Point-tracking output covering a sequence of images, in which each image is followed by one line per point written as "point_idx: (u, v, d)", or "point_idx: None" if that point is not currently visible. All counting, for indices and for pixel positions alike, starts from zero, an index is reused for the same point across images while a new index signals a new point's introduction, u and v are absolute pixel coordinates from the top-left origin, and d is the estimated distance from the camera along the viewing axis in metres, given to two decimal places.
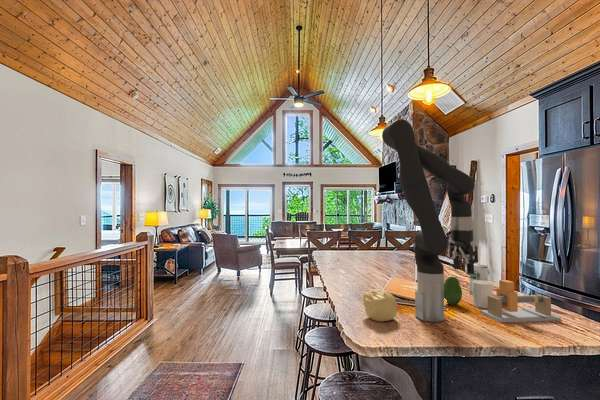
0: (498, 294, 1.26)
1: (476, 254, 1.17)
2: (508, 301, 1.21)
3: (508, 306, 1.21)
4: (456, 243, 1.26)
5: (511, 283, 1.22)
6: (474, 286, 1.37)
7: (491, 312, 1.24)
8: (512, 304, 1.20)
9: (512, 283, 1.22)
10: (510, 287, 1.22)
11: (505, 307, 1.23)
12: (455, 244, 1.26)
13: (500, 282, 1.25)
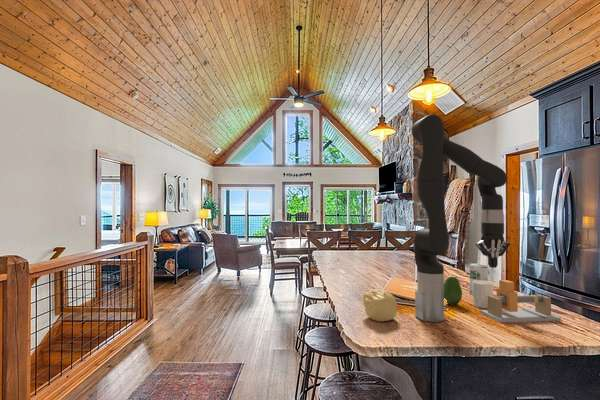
0: (498, 294, 1.26)
1: None
2: (508, 301, 1.21)
3: (508, 306, 1.21)
4: (489, 237, 1.23)
5: (511, 283, 1.22)
6: (474, 286, 1.37)
7: (491, 312, 1.24)
8: (512, 304, 1.20)
9: (512, 283, 1.22)
10: (510, 287, 1.22)
11: (505, 307, 1.23)
12: (487, 238, 1.22)
13: (500, 282, 1.25)
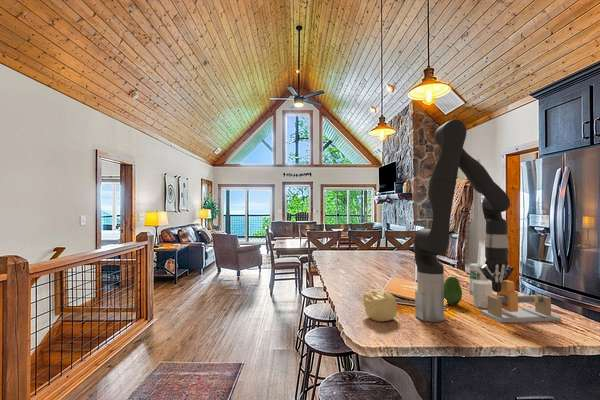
0: (498, 294, 1.26)
1: None
2: (508, 301, 1.21)
3: (508, 306, 1.21)
4: (493, 261, 1.23)
5: (512, 283, 1.22)
6: (474, 286, 1.37)
7: (491, 312, 1.24)
8: (512, 304, 1.20)
9: (512, 283, 1.22)
10: (510, 287, 1.22)
11: (505, 307, 1.23)
12: (490, 262, 1.22)
13: None
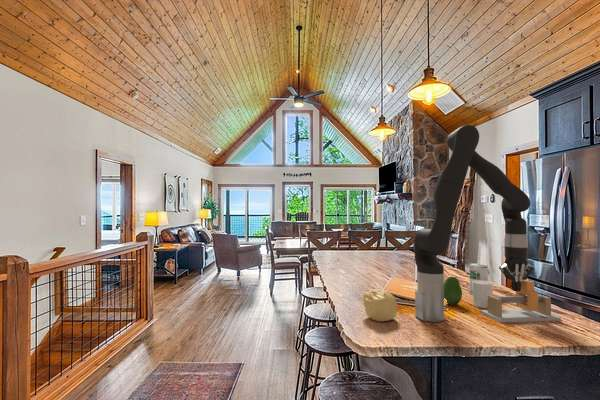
0: (518, 294, 1.27)
1: None
2: (528, 300, 1.22)
3: (528, 305, 1.22)
4: (513, 261, 1.23)
5: (531, 283, 1.23)
6: (474, 286, 1.37)
7: (491, 312, 1.24)
8: (532, 303, 1.21)
9: (532, 283, 1.23)
10: (530, 287, 1.23)
11: (525, 306, 1.23)
12: (510, 262, 1.23)
13: None
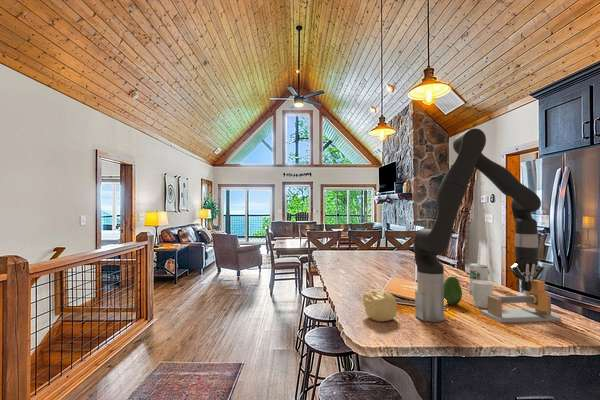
0: (528, 293, 1.28)
1: None
2: (539, 300, 1.22)
3: (539, 305, 1.22)
4: (523, 261, 1.24)
5: (542, 283, 1.23)
6: (474, 286, 1.37)
7: (491, 312, 1.24)
8: (543, 303, 1.22)
9: (543, 282, 1.23)
10: (541, 286, 1.23)
11: (536, 306, 1.24)
12: (521, 262, 1.24)
13: None
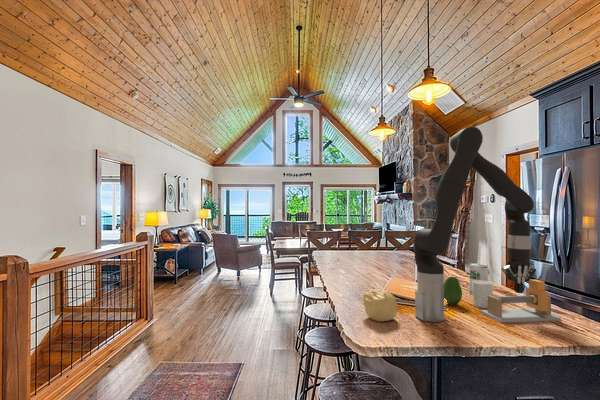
0: (528, 293, 1.28)
1: None
2: (539, 300, 1.22)
3: (539, 305, 1.22)
4: (516, 262, 1.23)
5: (542, 283, 1.23)
6: (474, 286, 1.37)
7: (491, 312, 1.24)
8: (543, 303, 1.22)
9: (543, 282, 1.23)
10: (541, 286, 1.23)
11: (535, 306, 1.24)
12: (513, 263, 1.23)
13: (530, 281, 1.26)
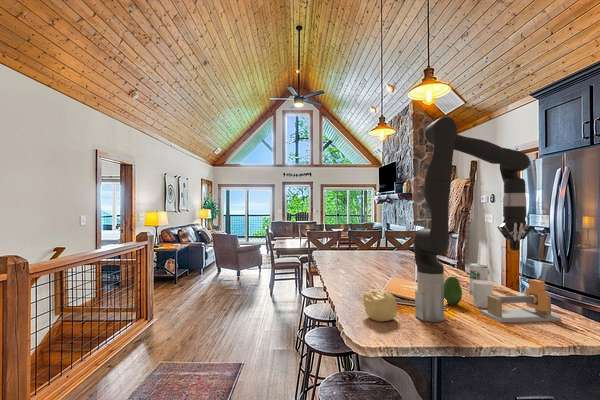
0: (528, 293, 1.28)
1: None
2: (539, 300, 1.22)
3: (539, 305, 1.22)
4: (511, 220, 1.24)
5: (542, 283, 1.23)
6: (474, 286, 1.37)
7: (491, 312, 1.24)
8: (543, 303, 1.22)
9: (543, 282, 1.23)
10: (541, 286, 1.23)
11: (535, 306, 1.24)
12: (509, 221, 1.24)
13: (530, 281, 1.26)
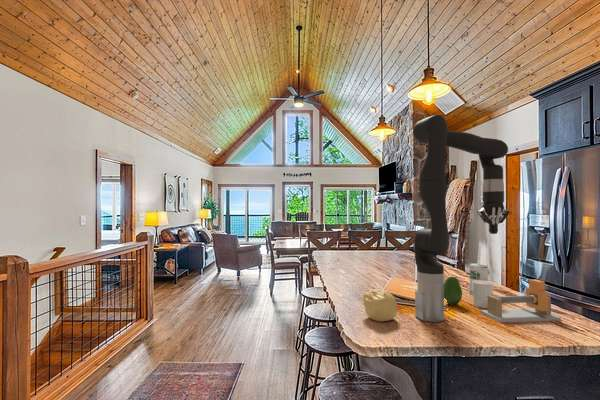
0: (528, 293, 1.28)
1: None
2: (539, 300, 1.22)
3: (539, 305, 1.22)
4: (490, 205, 1.30)
5: (542, 283, 1.23)
6: (474, 286, 1.37)
7: (491, 312, 1.24)
8: (543, 303, 1.22)
9: (543, 282, 1.23)
10: (541, 286, 1.23)
11: (535, 306, 1.24)
12: (488, 206, 1.30)
13: (530, 281, 1.26)
